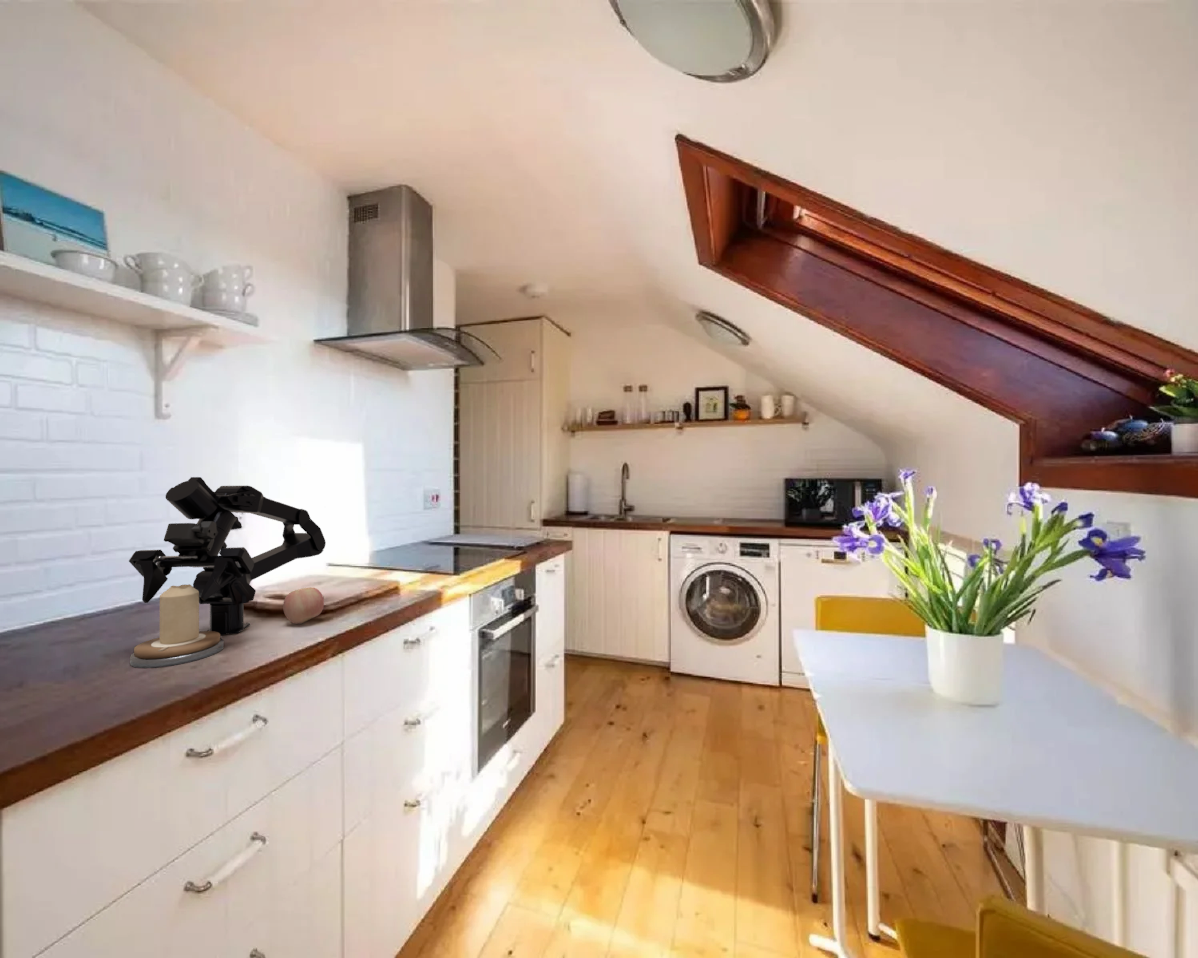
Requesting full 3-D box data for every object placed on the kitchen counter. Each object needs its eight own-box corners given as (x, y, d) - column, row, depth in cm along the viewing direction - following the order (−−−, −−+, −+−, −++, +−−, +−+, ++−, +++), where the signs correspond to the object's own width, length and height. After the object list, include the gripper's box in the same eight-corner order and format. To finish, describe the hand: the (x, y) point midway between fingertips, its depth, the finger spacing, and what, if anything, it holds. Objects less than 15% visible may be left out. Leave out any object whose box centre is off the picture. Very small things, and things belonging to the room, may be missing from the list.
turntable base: (157, 646, 93) (157, 640, 93) (235, 639, 97) (235, 634, 97) (111, 671, 81) (111, 664, 81) (202, 663, 85) (202, 656, 85)
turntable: (159, 639, 93) (159, 633, 93) (231, 634, 96) (231, 627, 96) (116, 661, 82) (116, 654, 82) (200, 654, 85) (200, 647, 85)
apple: (327, 616, 114) (327, 583, 114) (319, 625, 106) (319, 589, 106) (288, 620, 111) (288, 585, 111) (278, 629, 104) (278, 592, 104)
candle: (175, 645, 86) (175, 589, 86) (151, 643, 87) (151, 588, 87) (206, 635, 91) (206, 583, 91) (183, 633, 92) (183, 581, 92)
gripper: (136, 508, 91) (86, 577, 80) (246, 506, 95) (213, 572, 84) (165, 544, 99) (123, 612, 88) (266, 541, 102) (238, 606, 92)
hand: (174, 600), depth 88 cm, fingers open, 9 cm apart
